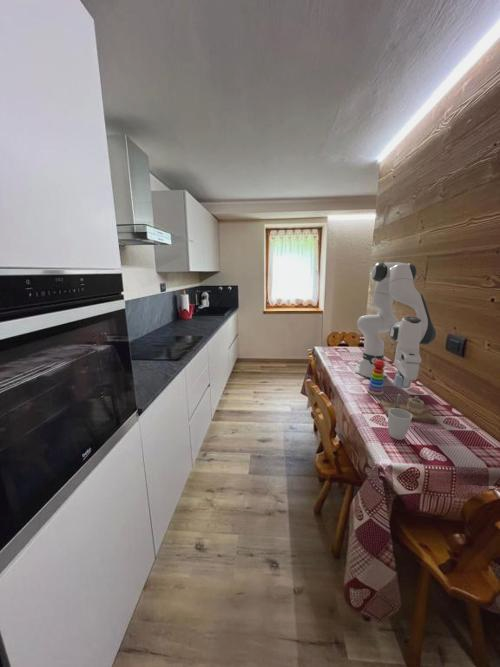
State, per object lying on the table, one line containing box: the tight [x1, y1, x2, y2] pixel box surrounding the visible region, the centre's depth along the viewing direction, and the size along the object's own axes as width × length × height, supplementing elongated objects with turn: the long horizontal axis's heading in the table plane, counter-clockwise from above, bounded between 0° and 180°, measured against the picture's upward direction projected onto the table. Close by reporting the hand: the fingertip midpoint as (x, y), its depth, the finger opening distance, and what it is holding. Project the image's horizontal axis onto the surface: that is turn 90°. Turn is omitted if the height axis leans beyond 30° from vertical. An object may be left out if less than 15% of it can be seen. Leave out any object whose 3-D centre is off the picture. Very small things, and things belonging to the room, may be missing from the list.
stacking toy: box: [366, 360, 386, 396], centre depth 143 cm, size 8×8×19 cm
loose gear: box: [393, 372, 412, 389], centre depth 122 cm, size 6×6×5 cm
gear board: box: [379, 393, 438, 425], centre depth 124 cm, size 14×20×8 cm
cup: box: [387, 408, 413, 441], centre depth 105 cm, size 8×8×10 cm
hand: (402, 382), depth 122 cm, fingers closed on loose gear, 6 cm apart
